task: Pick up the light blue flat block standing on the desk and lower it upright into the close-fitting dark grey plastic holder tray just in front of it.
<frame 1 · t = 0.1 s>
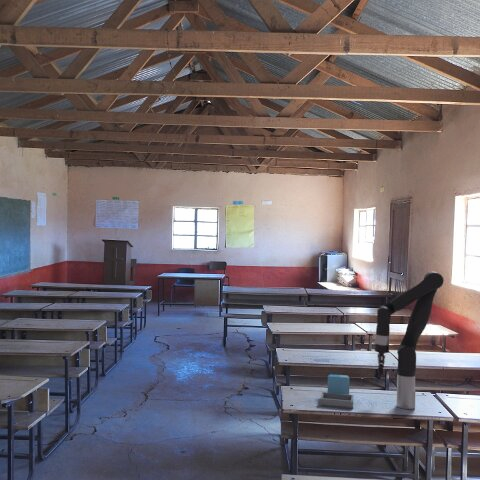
hand: (380, 372, 273), 17 cm above the table, tool pointing down, fingers open, 8 cm apart
holder tray: (337, 404, 272), on the table
light blue flat block: (338, 397, 284), on the table
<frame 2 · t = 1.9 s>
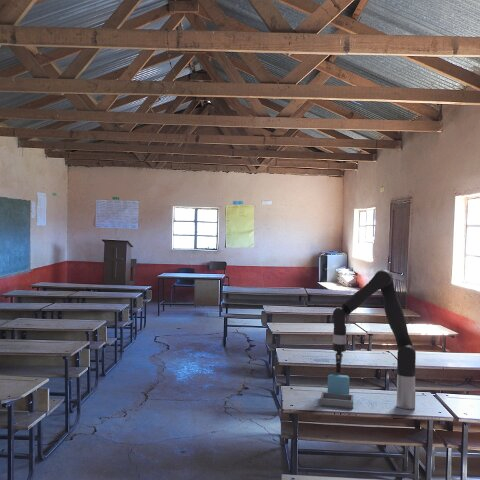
hand: (338, 370, 284), 15 cm above the table, tool pointing down, fingers open, 8 cm apart
nothing on the table moved.
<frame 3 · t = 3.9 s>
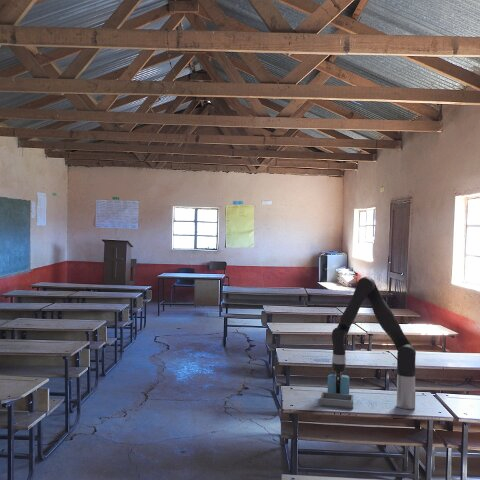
hand: (338, 391, 284), 3 cm above the table, tool pointing down, fingers closed on light blue flat block, 4 cm apart
light blue flat block: (338, 397, 284), on the table, touching gripper
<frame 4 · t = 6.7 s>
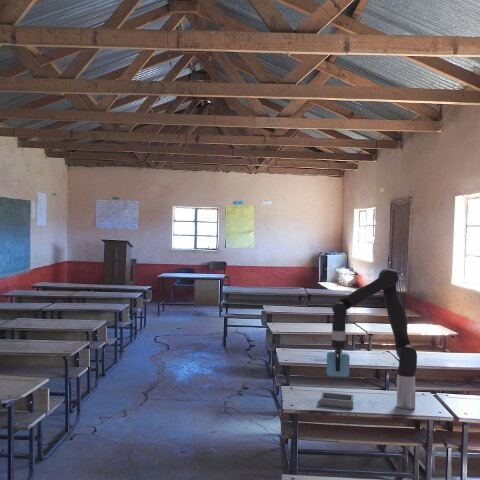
hand: (337, 369, 272), 19 cm above the table, tool pointing down, fingers closed on light blue flat block, 4 cm apart
light blue flat block: (337, 375, 272), point 15 cm above the table, touching gripper
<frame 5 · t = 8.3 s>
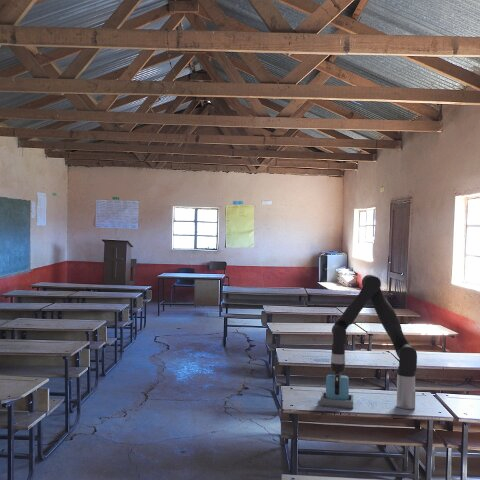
hand: (337, 392, 272), 6 cm above the table, tool pointing down, fingers closed on light blue flat block, 4 cm apart
light blue flat block: (336, 398, 272), point 3 cm above the table, touching gripper
when the fingers open (5 cm above the table, at t = 9.4 s): light blue flat block stays where it is, resting on holder tray.
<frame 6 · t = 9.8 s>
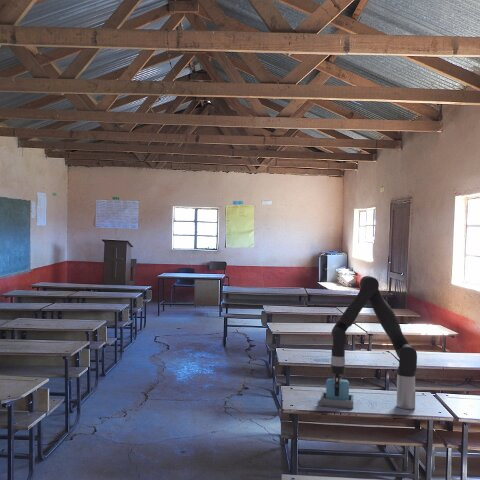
hand: (337, 393, 272), 6 cm above the table, tool pointing down, fingers open, 8 cm apart
light blue flat block: (337, 402, 272), point 1 cm above the table, touching holder tray
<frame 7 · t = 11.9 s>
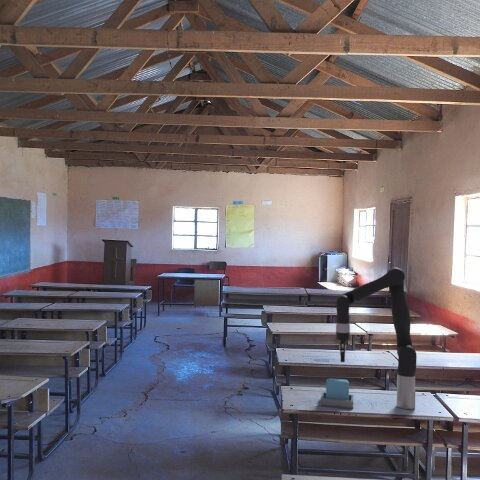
hand: (342, 360, 277), 23 cm above the table, tool pointing down, fingers open, 8 cm apart
nothing on the table moved.
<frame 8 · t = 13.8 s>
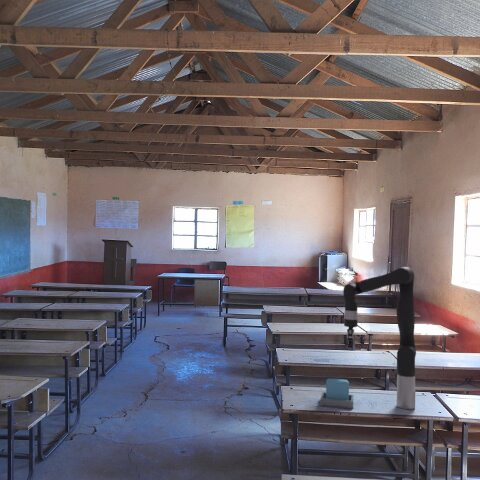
hand: (350, 346, 289), 28 cm above the table, tool pointing down, fingers open, 8 cm apart
nothing on the table moved.
at the end: light blue flat block 0.1 cm off-centre on the holder tray, point 0.8 cm above the holder tray's base; light blue flat block tilted 0°; the gripper is holding nothing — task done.
